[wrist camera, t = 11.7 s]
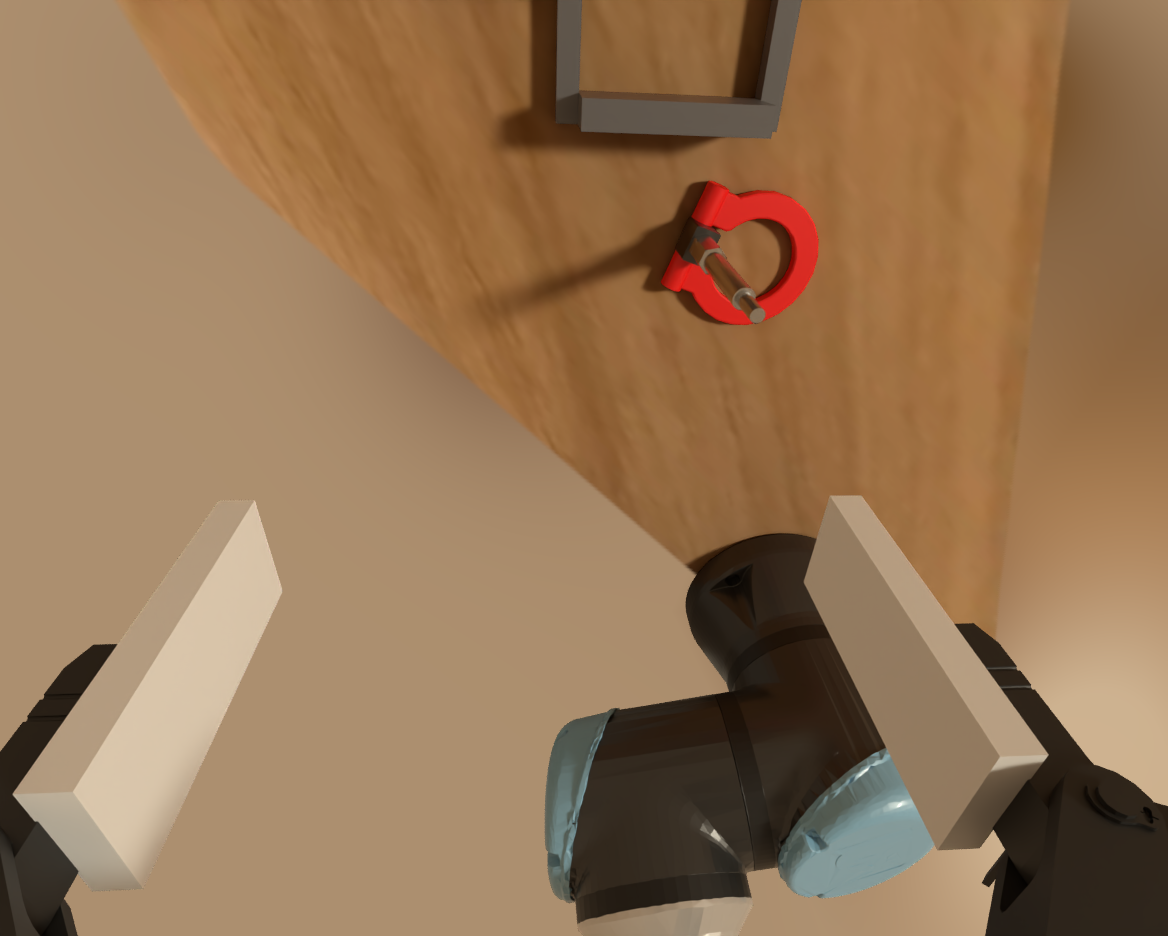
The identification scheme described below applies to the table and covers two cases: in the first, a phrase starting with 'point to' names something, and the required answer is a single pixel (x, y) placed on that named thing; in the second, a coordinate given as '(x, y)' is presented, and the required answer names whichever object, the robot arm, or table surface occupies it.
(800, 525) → the table surface
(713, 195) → the tow hook
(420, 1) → the table surface
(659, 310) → the table surface
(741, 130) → the grey square frame
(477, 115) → the table surface
